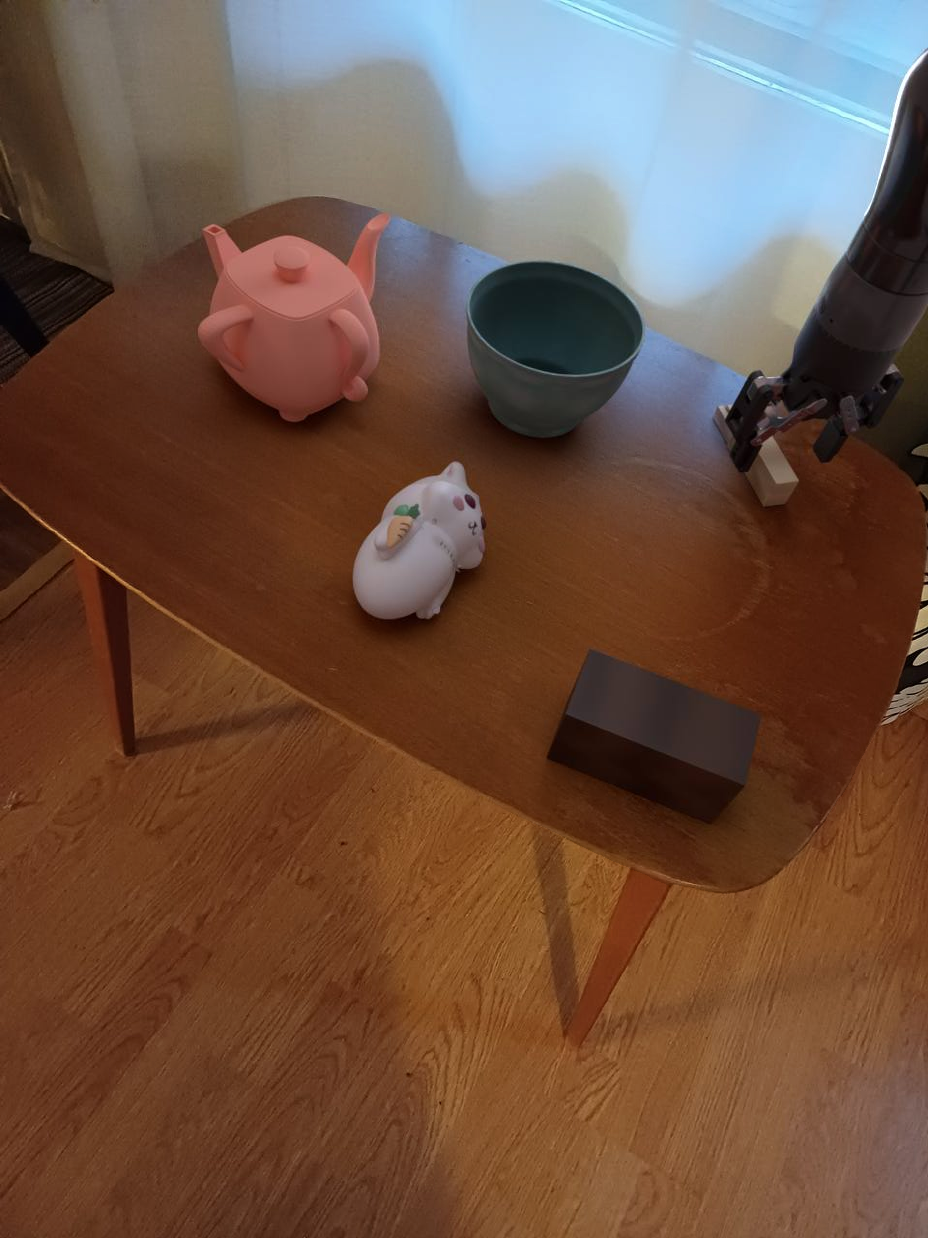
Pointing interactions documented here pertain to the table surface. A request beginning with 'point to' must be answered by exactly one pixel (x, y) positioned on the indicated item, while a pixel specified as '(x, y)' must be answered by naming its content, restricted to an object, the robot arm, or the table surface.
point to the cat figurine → (420, 547)
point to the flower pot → (550, 343)
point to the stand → (655, 737)
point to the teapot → (294, 319)
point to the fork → (763, 466)
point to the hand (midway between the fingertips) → (780, 460)
